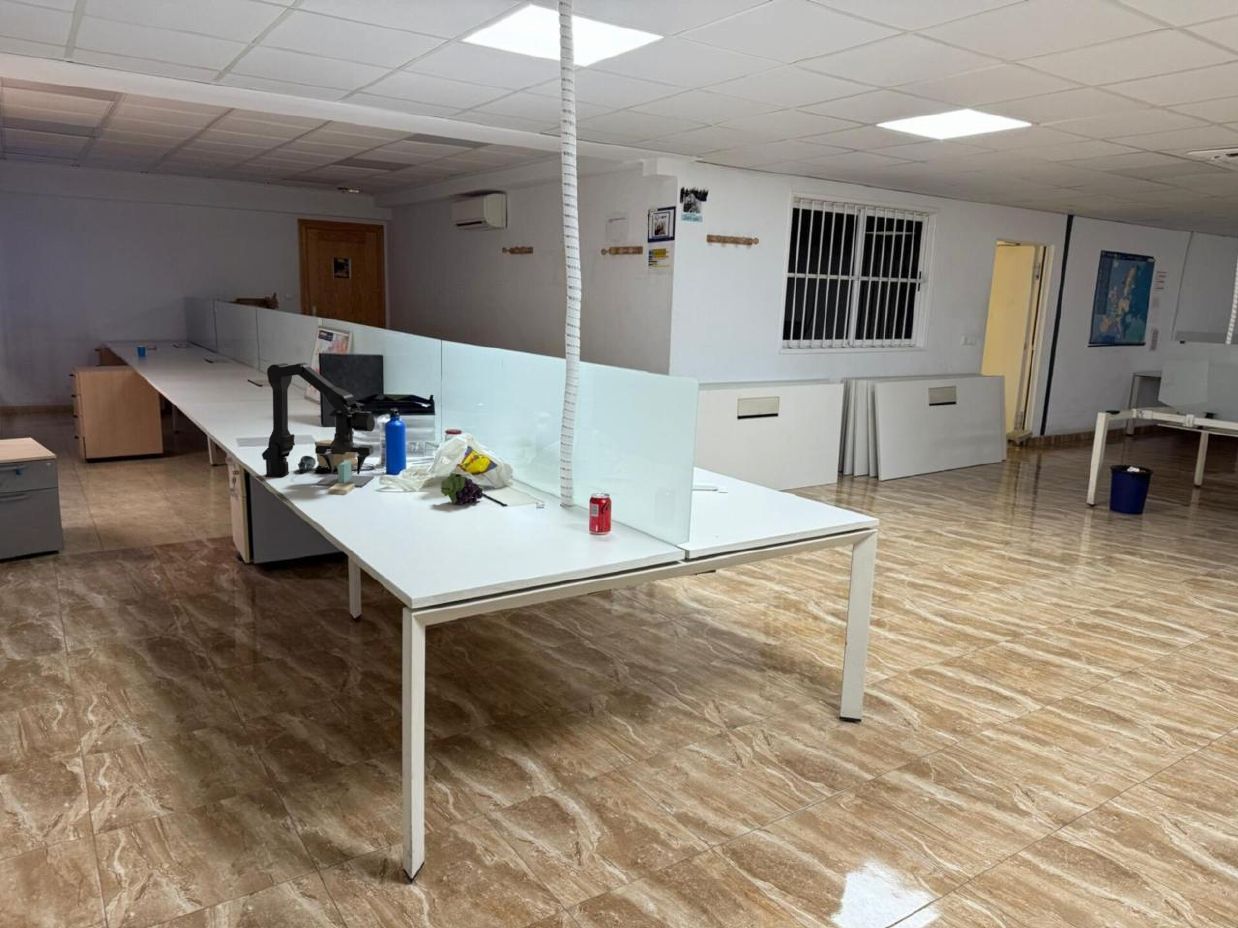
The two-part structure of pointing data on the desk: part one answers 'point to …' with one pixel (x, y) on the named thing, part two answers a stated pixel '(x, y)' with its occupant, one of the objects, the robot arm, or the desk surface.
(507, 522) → the desk surface
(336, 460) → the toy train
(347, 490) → the birch slab
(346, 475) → the teal slab
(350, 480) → the mat
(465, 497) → the fruit
